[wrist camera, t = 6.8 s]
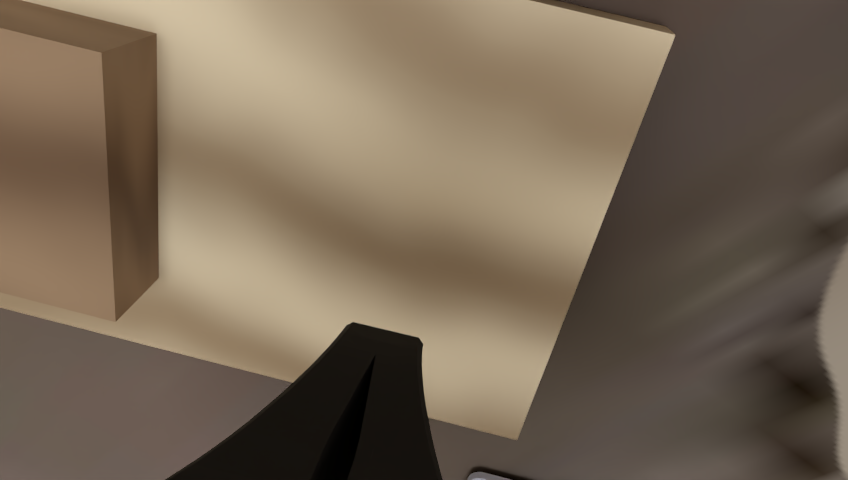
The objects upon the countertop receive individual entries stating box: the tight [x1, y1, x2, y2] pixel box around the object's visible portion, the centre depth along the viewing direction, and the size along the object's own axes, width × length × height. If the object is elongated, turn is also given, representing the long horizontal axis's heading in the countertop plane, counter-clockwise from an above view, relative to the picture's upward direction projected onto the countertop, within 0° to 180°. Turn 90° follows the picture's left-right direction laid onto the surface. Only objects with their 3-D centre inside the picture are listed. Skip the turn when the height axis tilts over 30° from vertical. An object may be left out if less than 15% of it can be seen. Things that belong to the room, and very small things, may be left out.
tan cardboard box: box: [0, 0, 159, 322], centre depth 18 cm, size 8×5×2 cm, turn 168°
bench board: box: [0, 0, 675, 440], centre depth 19 cm, size 14×24×1 cm, turn 78°
